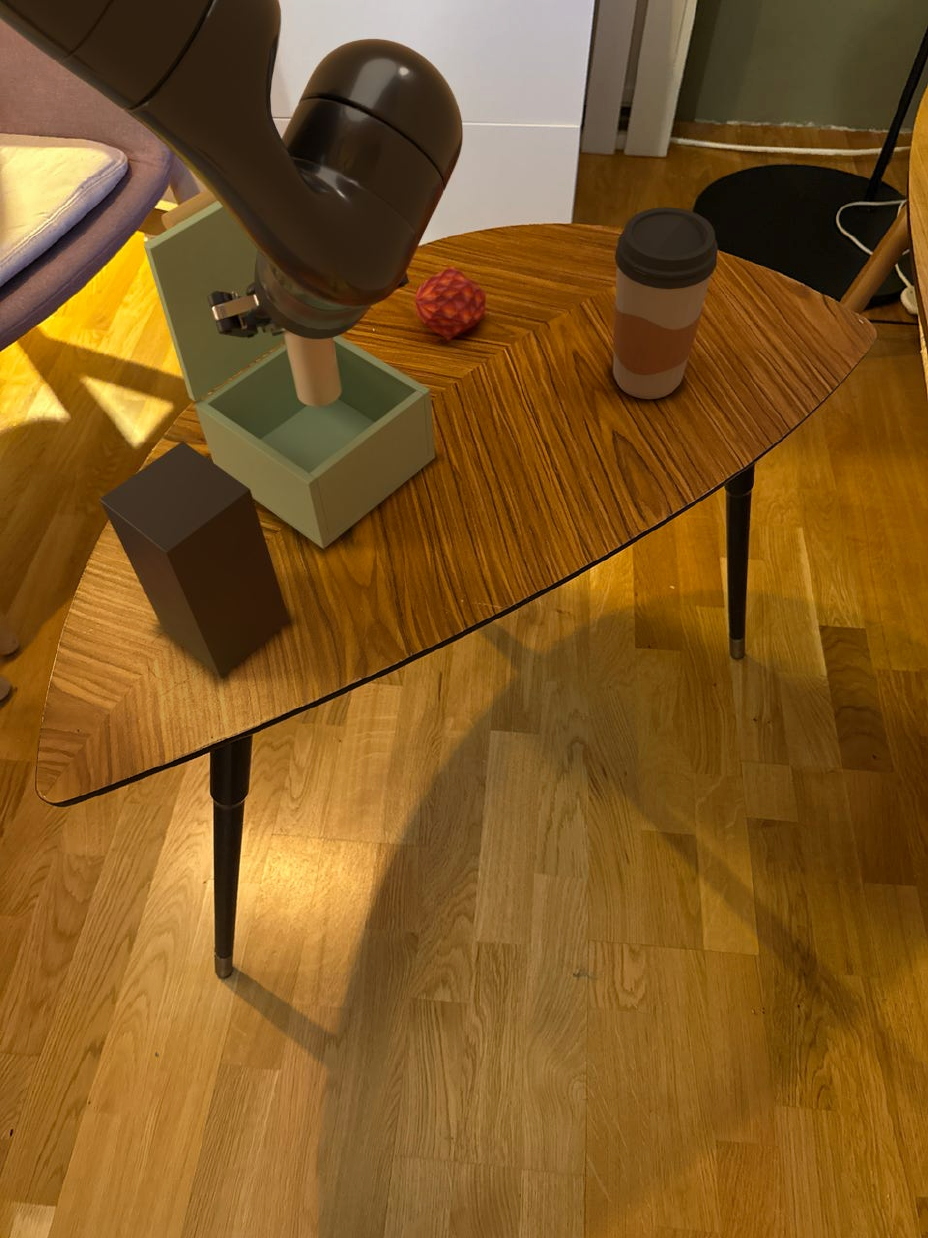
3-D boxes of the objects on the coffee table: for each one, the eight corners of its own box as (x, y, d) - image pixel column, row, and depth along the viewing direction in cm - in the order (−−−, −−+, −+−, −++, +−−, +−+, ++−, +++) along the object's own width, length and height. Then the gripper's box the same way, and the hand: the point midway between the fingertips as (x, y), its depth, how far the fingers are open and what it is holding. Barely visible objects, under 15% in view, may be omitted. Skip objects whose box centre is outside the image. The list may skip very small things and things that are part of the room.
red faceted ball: (484, 354, 98) (414, 351, 93) (459, 307, 100) (390, 302, 96) (512, 303, 93) (440, 298, 89) (485, 256, 96) (414, 248, 92)
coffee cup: (707, 366, 92) (738, 221, 80) (668, 420, 88) (695, 276, 76) (626, 337, 95) (645, 192, 83) (585, 388, 91) (599, 244, 79)
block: (221, 679, 74) (166, 552, 62) (162, 629, 77) (98, 498, 64) (290, 621, 77) (250, 489, 65) (231, 575, 80) (182, 440, 67)
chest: (435, 457, 87) (430, 389, 80) (323, 549, 81) (308, 483, 75) (327, 389, 92) (315, 321, 86) (216, 471, 86) (193, 404, 80)
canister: (318, 413, 77) (296, 306, 69) (286, 393, 79) (261, 286, 70) (352, 389, 79) (334, 281, 71) (320, 369, 80) (299, 261, 72)
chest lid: (296, 162, 73) (250, 136, 75) (150, 248, 67) (104, 218, 69) (317, 318, 85) (278, 293, 87) (195, 402, 79) (155, 373, 81)
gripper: (415, 170, 59) (372, 241, 76) (182, 227, 56) (191, 288, 73) (451, 296, 60) (401, 338, 77) (225, 358, 58) (224, 388, 74)
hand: (299, 314), depth 75 cm, fingers closed on canister, 3 cm apart
